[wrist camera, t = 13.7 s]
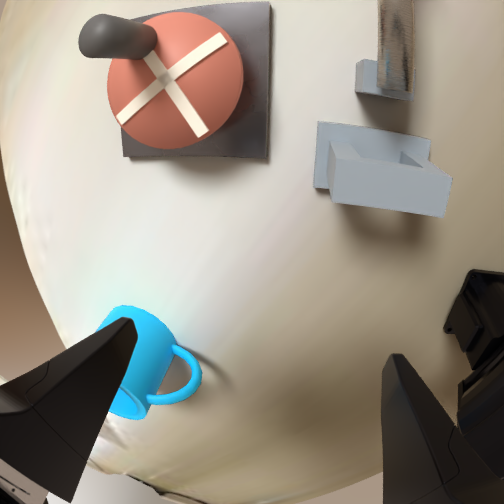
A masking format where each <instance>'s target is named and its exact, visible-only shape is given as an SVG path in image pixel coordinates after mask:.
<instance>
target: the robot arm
mask: <svg viewBox="0 0 504 504" xmlns="http://www.w3.org/2000/svg"><path fill="white" fill-rule="evenodd" d="M473 275H474V276H473ZM472 276H473V277H472ZM444 331H445V333H447V334H455V335H456V337H457V340H458V342H459V345H460V347H461V350H462V352H466V355H467V358H468V360H469V363H470V366H471V369H472V370H473V371H474V370H475V371H474V372H473V373H471V374H470V375H469V376H468V377H467V378H466V379H465V380H462V381H461V382H460V383H459V384H458V412H457V427H458V428H457V427H456V426H454V423H453V421H452V420H451V418H450V417H449V416H448V414H447V413H446V411H445V410H444V409H443V407H442V406H441V404H440V403H439V402H438V400H437V399H436V398H435V396H434V395H433V393H432V392H431V391H430V389H429V388H428V387H427V385H426V384H425V383H424V381H423V380H422V379H421V377H420V376H419V375H418V373H417V372H416V371H415V369H414V368H413V367H412V366H411V364H410V363H409V362H408V360H407V359H406V358H405V356H404V355H403V354H398V353H392V354H390V356H389V358H388V360H387V362H386V364H385V366H384V368H383V371H382V397H381V424H382V444H383V504H504V273H502V272H494V271H485V270H477V269H472V270H470V271H469V273H468V275H467V277H466V279H465V282H464V284H463V287H462V289H461V291H460V294H459V295H458V298H457V300H456V302H455V304H454V306H453V309H452V311H451V313H450V315H449V317H448V320H447V322H446V324H445V326H444ZM137 340H138V333H137V330H136V326H135V323H134V320H133V319H132V318H128V317H120V318H119V319H117V320H115V321H114V322H112V323H110V324H109V325H107V326H105V327H103V328H102V329H100V330H98V331H97V332H95V333H93V334H92V335H90V336H88V337H87V338H85V339H83V340H82V341H80V342H78V343H77V344H75V345H73V346H72V347H70V348H68V349H67V350H65V351H64V352H62V353H60V354H58V355H57V356H55V357H53V358H52V359H50V361H47V362H45V363H43V364H42V365H40V366H38V367H37V368H35V369H33V370H31V371H29V372H27V373H25V374H23V375H21V376H19V377H17V378H15V379H13V380H11V381H9V382H7V383H5V384H3V385H1V386H0V504H48V501H47V498H46V496H47V494H48V492H51V493H53V494H54V495H56V496H58V497H60V498H62V499H63V500H65V501H67V502H69V503H71V501H72V499H73V496H74V494H75V491H76V488H77V486H78V484H79V481H80V478H81V476H82V473H83V471H84V468H85V466H86V463H87V460H88V458H89V456H90V453H91V451H92V448H93V446H94V443H95V441H96V439H97V436H98V434H99V432H100V429H101V427H102V425H103V423H104V420H105V418H106V416H107V413H108V411H109V409H110V407H111V405H112V402H113V400H114V398H115V396H116V394H117V391H118V389H119V387H120V385H121V383H122V381H123V379H124V376H125V374H126V371H127V369H128V366H129V363H130V360H131V357H132V354H133V352H134V349H135V346H136V343H137Z"/></svg>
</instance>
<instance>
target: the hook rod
mask: <svg viewBox="0 0 504 504" xmlns="http://www.w3.org/2000/svg"><path fill="white" fill-rule="evenodd" d="M414 49H415V30H414V2H413V0H378V63H377V85H376V87H379V88H383V89H388V90H393V91H399V92H404V93H411V94H413V79H414Z"/></svg>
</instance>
